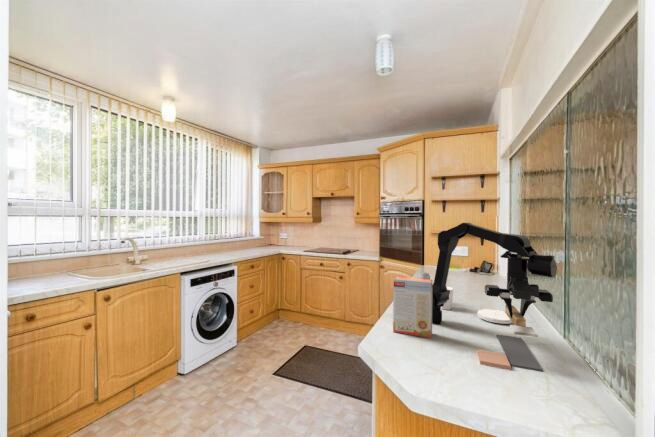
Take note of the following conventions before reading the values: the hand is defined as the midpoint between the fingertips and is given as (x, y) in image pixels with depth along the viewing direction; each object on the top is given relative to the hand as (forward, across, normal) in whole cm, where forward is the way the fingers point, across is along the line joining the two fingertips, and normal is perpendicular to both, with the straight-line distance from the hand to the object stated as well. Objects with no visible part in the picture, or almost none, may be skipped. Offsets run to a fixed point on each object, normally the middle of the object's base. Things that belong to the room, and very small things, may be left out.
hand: (516, 318), depth 98 cm
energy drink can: (+11, -32, +47) cm, 58 cm away
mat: (+11, 0, -1) cm, 11 cm away
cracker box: (+11, -34, +1) cm, 36 cm away
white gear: (+11, -1, +31) cm, 33 cm away
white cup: (+11, -22, +39) cm, 46 cm away
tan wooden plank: (+2, 0, 0) cm, 2 cm away
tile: (+11, -8, -12) cm, 18 cm away
